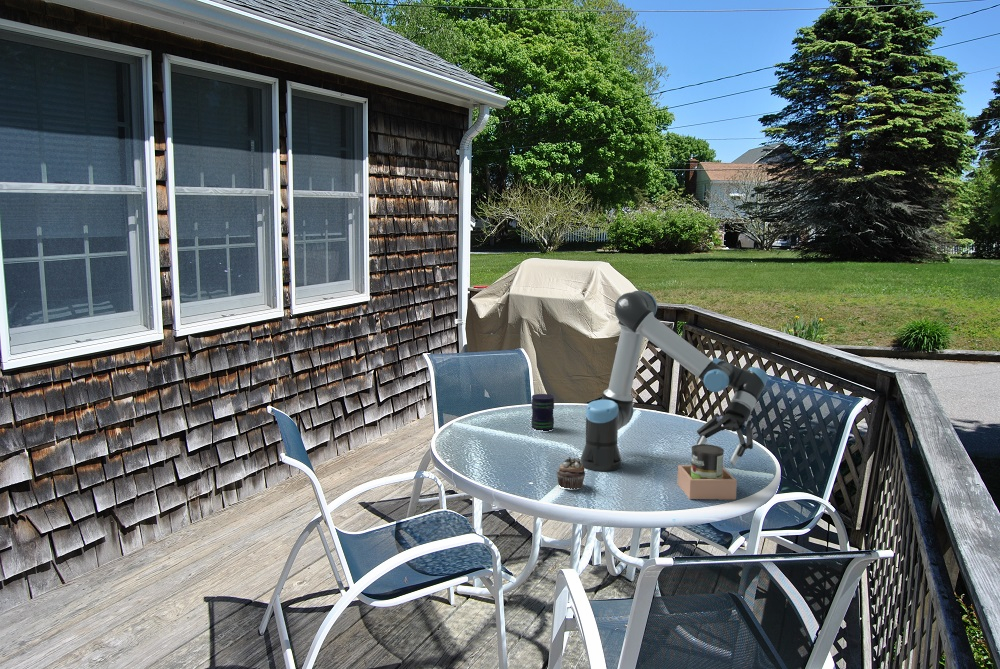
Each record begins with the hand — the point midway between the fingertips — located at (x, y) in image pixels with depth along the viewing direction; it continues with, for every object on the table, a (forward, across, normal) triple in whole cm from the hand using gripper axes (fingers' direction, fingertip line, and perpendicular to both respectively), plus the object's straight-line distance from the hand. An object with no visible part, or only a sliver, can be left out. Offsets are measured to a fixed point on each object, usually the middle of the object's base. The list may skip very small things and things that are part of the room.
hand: (713, 458), depth 235 cm
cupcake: (+32, +32, +17) cm, 49 cm away
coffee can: (+10, 0, -5) cm, 11 cm away
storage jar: (+2, +91, -13) cm, 92 cm away
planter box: (+10, 0, -5) cm, 11 cm away
